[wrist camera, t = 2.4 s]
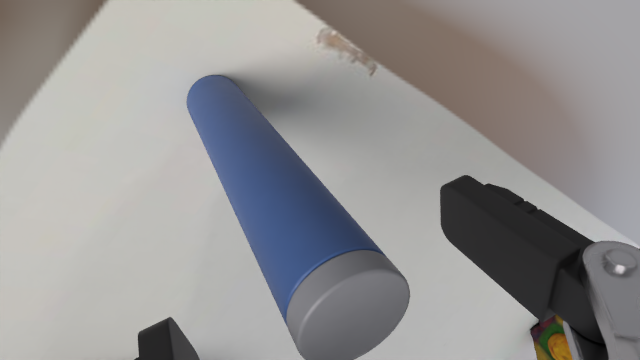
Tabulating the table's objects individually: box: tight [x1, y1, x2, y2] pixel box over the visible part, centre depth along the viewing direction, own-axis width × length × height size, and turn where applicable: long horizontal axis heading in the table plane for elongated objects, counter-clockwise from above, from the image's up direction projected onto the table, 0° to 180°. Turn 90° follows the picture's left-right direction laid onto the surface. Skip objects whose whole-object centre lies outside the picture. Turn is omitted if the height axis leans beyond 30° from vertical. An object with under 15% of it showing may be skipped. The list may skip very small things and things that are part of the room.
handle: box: [187, 75, 410, 360], centre depth 15 cm, size 3×3×16 cm
